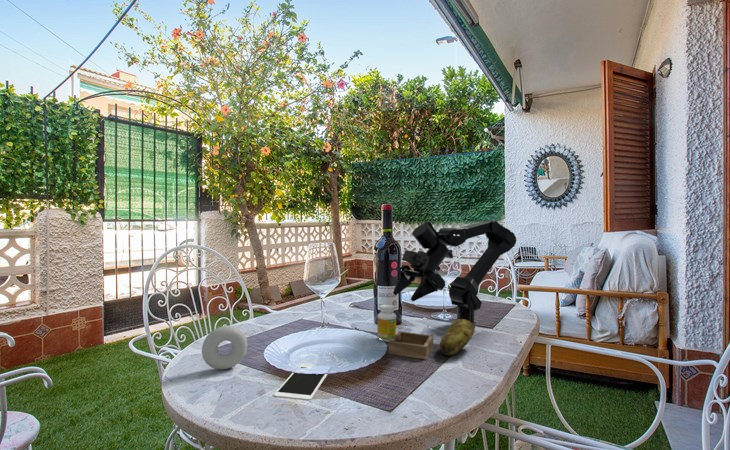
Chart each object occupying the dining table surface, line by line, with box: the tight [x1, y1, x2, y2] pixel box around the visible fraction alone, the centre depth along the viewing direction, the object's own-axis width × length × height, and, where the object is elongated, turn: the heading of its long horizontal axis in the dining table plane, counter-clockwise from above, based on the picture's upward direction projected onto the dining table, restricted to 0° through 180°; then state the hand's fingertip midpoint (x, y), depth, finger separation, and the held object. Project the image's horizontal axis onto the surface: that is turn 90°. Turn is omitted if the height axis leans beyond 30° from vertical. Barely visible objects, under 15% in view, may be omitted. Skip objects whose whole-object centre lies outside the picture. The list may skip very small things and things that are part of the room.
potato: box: [439, 318, 475, 357], centre depth 99 cm, size 8×13×8 cm, turn 122°
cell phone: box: [273, 363, 328, 401], centre depth 80 cm, size 8×16×1 cm, turn 170°
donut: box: [201, 325, 249, 370], centre depth 85 cm, size 10×4×10 cm, turn 118°
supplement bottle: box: [376, 304, 397, 343], centre depth 108 cm, size 5×5×10 cm
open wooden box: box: [388, 330, 434, 360], centre depth 99 cm, size 10×10×3 cm
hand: (402, 297), depth 110 cm, fingers open, 9 cm apart
